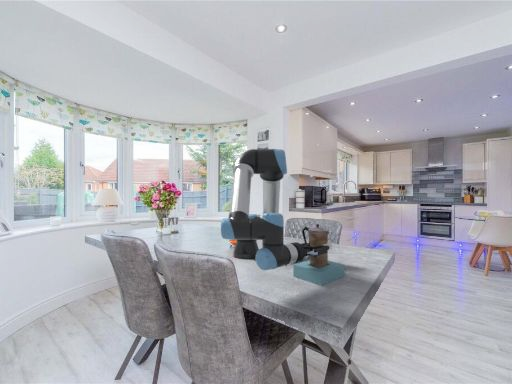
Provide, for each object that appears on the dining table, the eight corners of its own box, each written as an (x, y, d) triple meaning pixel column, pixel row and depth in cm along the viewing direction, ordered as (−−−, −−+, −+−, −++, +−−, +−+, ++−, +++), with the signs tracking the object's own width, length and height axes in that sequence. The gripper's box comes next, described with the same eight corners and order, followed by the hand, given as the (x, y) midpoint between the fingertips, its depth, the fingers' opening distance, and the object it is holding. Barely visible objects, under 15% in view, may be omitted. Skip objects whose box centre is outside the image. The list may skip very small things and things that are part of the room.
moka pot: (326, 268, 116) (326, 226, 116) (297, 262, 125) (297, 223, 125) (333, 263, 123) (333, 224, 123) (305, 258, 132) (305, 222, 133)
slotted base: (293, 276, 104) (293, 264, 104) (316, 268, 115) (316, 257, 115) (321, 285, 93) (321, 272, 93) (344, 276, 104) (344, 264, 104)
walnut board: (310, 268, 103) (310, 233, 103) (319, 265, 108) (319, 231, 108) (318, 270, 100) (317, 234, 100) (327, 267, 105) (327, 232, 105)
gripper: (275, 258, 99) (310, 250, 114) (309, 268, 86) (344, 257, 101) (275, 240, 99) (310, 234, 114) (309, 246, 86) (344, 239, 101)
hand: (326, 245), depth 108 cm, fingers closed on walnut board, 4 cm apart
